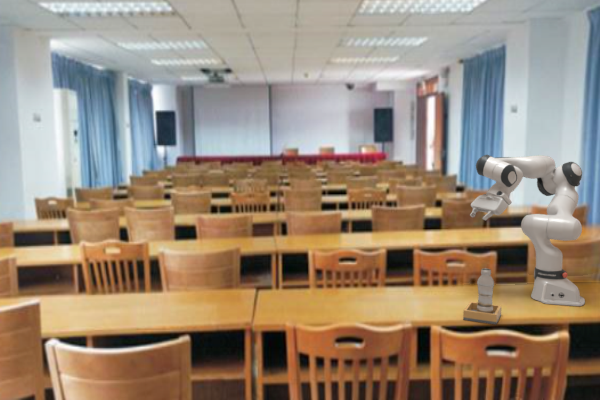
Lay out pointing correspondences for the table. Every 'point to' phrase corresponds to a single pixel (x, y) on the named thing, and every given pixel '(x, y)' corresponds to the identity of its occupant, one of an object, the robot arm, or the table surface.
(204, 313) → the table surface
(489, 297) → the plastic bottle
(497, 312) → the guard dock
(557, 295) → the robot arm
